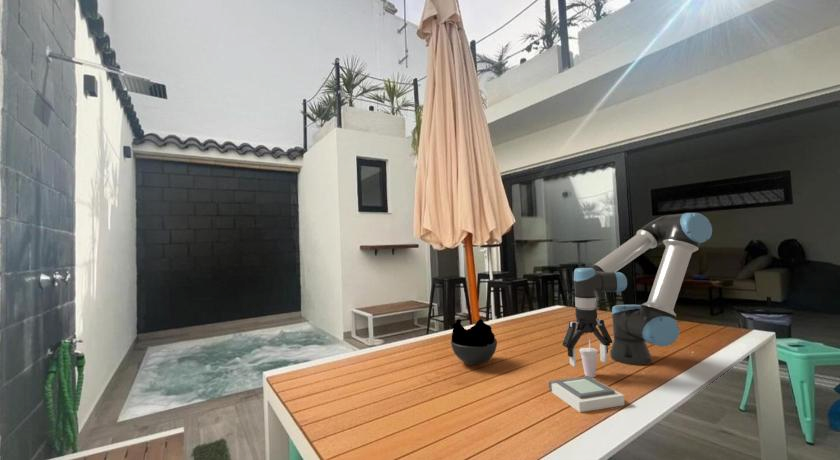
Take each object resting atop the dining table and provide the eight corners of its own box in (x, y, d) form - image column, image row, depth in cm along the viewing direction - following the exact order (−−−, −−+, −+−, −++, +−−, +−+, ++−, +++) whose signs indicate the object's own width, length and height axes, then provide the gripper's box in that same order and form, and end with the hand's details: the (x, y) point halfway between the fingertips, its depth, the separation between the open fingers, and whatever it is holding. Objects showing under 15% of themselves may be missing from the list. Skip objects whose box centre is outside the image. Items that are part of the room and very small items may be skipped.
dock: (589, 384, 122) (588, 373, 122) (624, 405, 106) (623, 392, 106) (549, 390, 118) (548, 378, 118) (579, 412, 103) (579, 398, 103)
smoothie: (601, 379, 126) (599, 341, 127) (583, 378, 127) (581, 340, 128) (596, 372, 132) (594, 336, 133) (578, 371, 134) (576, 336, 134)
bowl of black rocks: (507, 364, 145) (505, 320, 146) (473, 376, 134) (471, 328, 134) (475, 353, 161) (473, 313, 162) (442, 362, 150) (440, 320, 151)
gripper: (606, 304, 137) (609, 357, 136) (551, 308, 132) (553, 363, 131) (621, 307, 130) (623, 363, 129) (563, 312, 125) (565, 370, 124)
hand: (588, 363), depth 130 cm, fingers open, 13 cm apart
